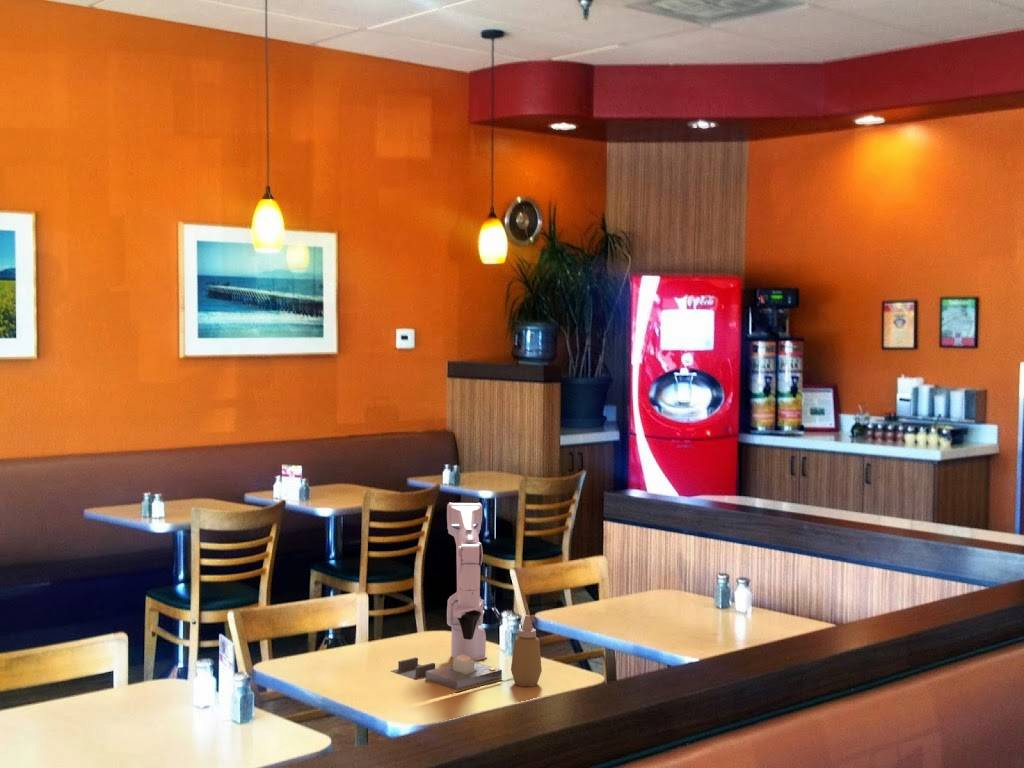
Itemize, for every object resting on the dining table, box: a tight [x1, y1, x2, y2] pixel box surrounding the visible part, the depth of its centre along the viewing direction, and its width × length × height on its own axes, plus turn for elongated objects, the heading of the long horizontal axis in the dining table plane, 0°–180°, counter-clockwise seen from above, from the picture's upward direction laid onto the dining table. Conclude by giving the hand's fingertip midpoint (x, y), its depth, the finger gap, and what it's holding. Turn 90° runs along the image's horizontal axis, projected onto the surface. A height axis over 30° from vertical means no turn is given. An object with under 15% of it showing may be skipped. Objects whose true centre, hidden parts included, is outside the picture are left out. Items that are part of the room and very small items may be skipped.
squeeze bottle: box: [510, 615, 543, 687], centre depth 329 cm, size 8×8×18 cm
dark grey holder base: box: [390, 656, 436, 680], centre depth 336 cm, size 10×10×3 cm
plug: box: [452, 655, 475, 675], centre depth 330 cm, size 3×5×7 cm, turn 44°
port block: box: [425, 660, 503, 694], centre depth 330 cm, size 16×12×3 cm
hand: (468, 638), depth 337 cm, fingers closed
